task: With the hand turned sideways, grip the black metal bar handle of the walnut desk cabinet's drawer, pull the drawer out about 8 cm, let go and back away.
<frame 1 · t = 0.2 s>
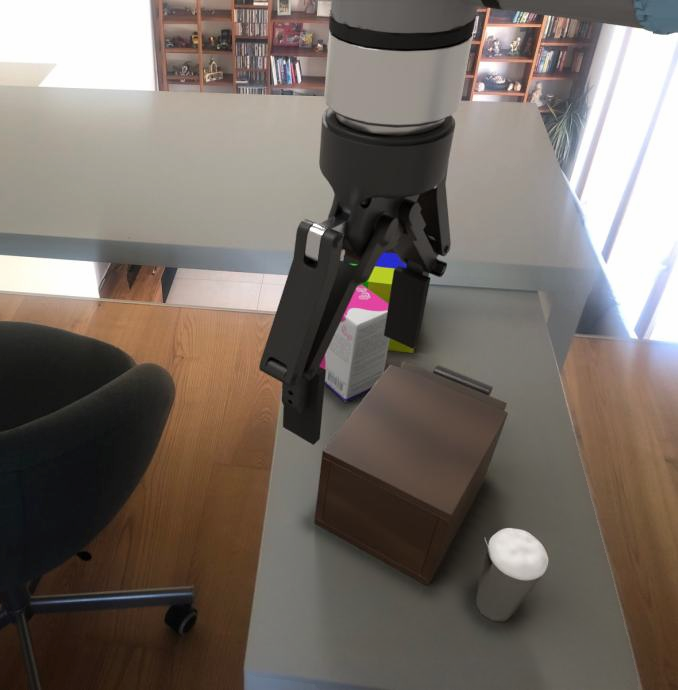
hand: (354, 383, 53), 21 cm above the table, tool pointing down, fingers open, 13 cm apart
drawer: (430, 435, 69), point 5 cm above the table, slide at 1.0 cm
puzzle toy: (374, 324, 91), on the table
supplement box: (348, 381, 83), on the table
cabinet: (399, 503, 69), on the table
milkshake: (488, 605, 61), on the table
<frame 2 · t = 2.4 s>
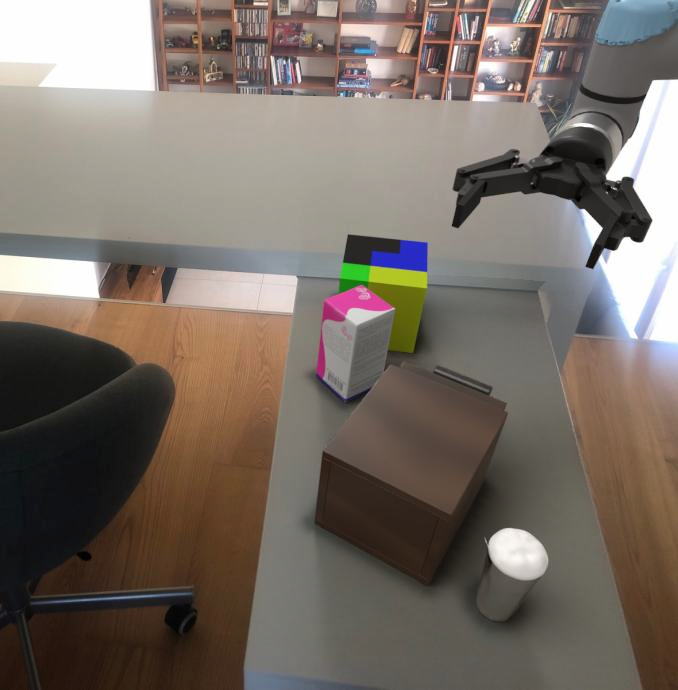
hand: (522, 235, 70), 20 cm above the table, tool horizontal, fingers open, 13 cm apart
nothing on the table moved.
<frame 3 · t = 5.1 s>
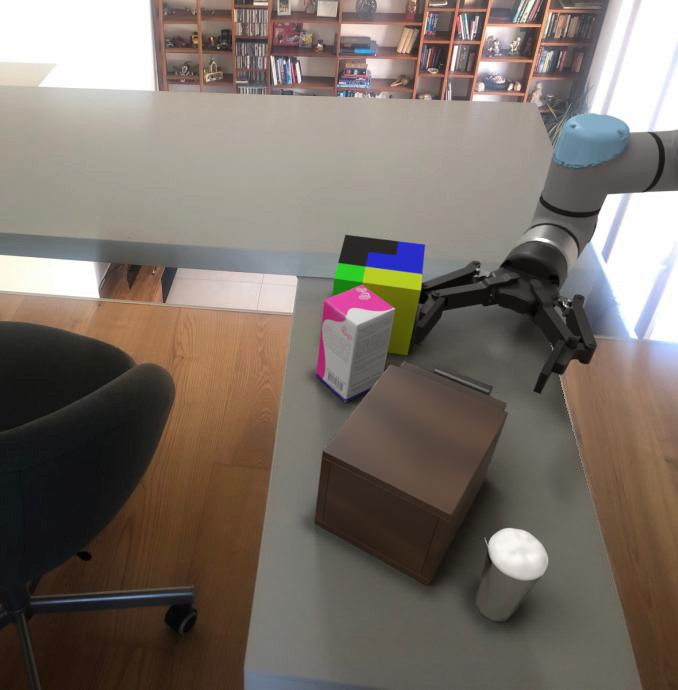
hand: (476, 358, 75), 7 cm above the table, tool horizontal, fingers open, 13 cm apart
puzzle toy: (370, 325, 91), on the table, touching gripper, hand
everything else where it was.
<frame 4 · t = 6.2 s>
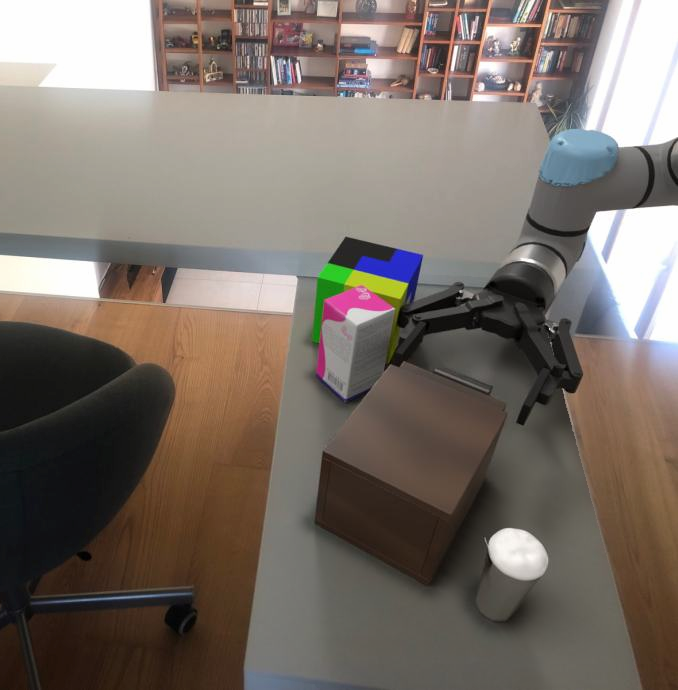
hand: (457, 388, 72), 7 cm above the table, tool horizontal, fingers open, 13 cm apart
puzzle toy: (361, 330, 90), on the table, touching gripper
everything else where it was.
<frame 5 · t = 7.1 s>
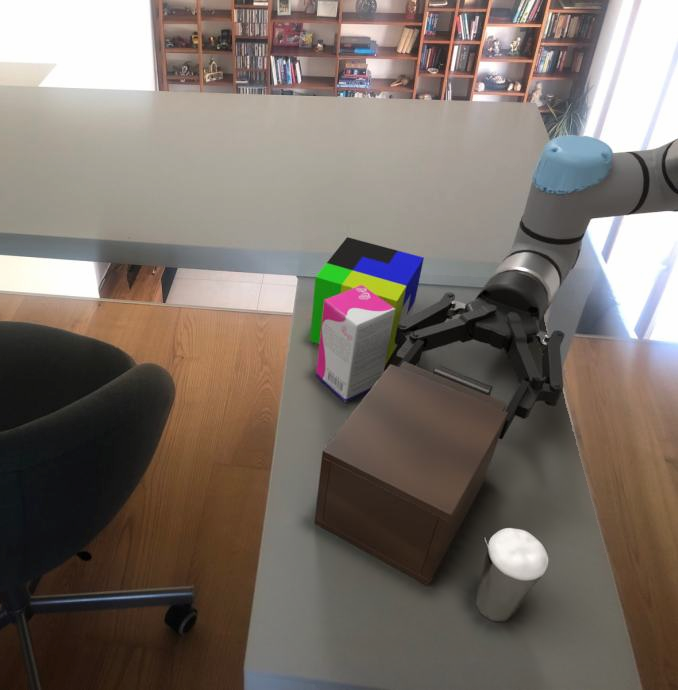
hand: (445, 405, 70), 7 cm above the table, tool horizontal, fingers closed on drawer, 11 cm apart
drawer: (429, 435, 69), point 5 cm above the table, slide at 1.0 cm, touching gripper
puzzle toy: (361, 332, 90), on the table
everything else where it was.
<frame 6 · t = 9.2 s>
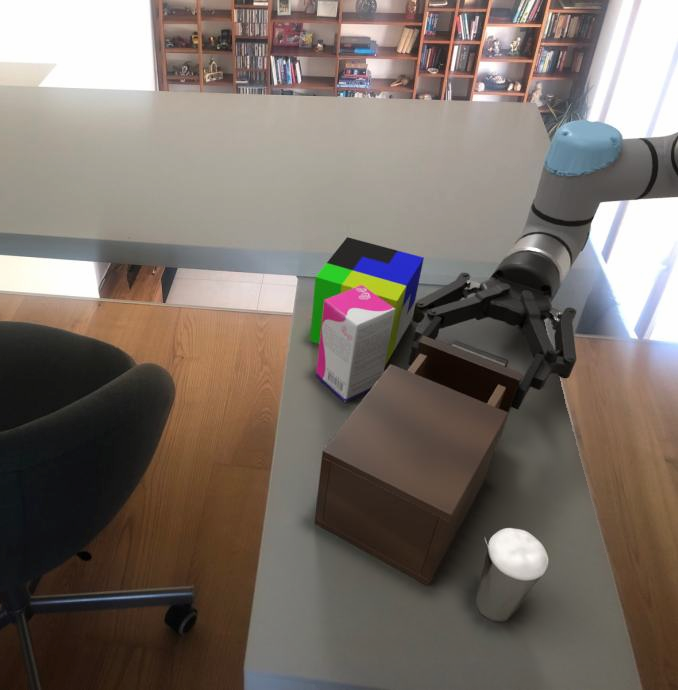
hand: (463, 377, 73), 7 cm above the table, tool horizontal, fingers closed on drawer, 11 cm apart
drawer: (448, 406, 72), point 5 cm above the table, slide at 5.9 cm, touching gripper
everything else where it was.
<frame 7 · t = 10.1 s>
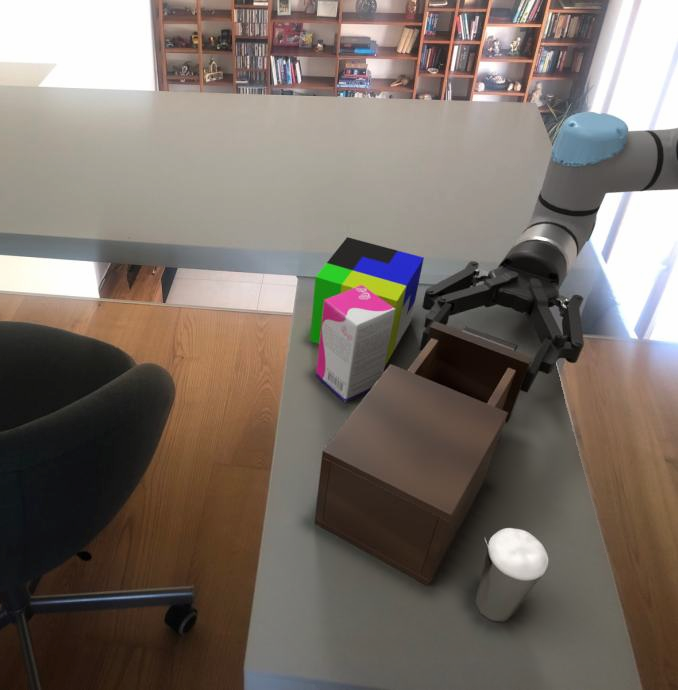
hand: (473, 361, 75), 7 cm above the table, tool horizontal, fingers closed on drawer, 11 cm apart
drawer: (459, 389, 74), point 5 cm above the table, slide at 8.9 cm, touching gripper
everything else where it was.
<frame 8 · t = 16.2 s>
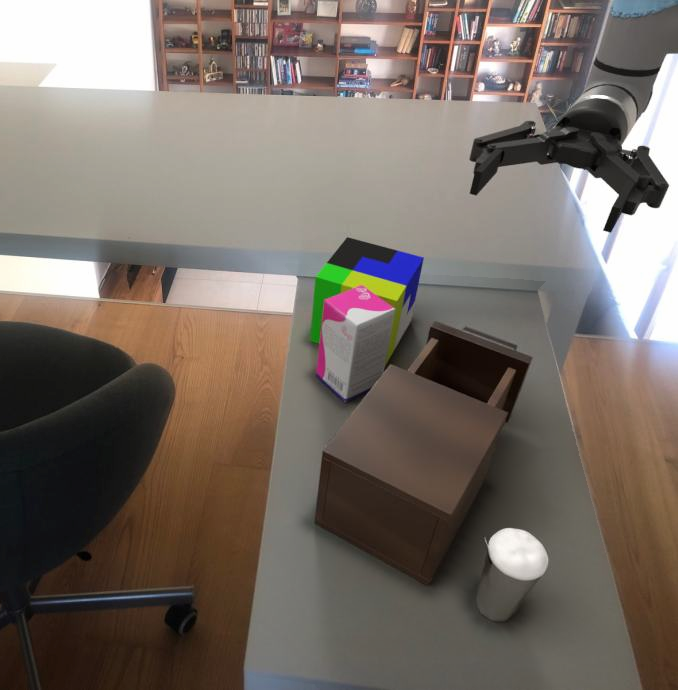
hand: (540, 200, 71), 22 cm above the table, tool horizontal, fingers open, 13 cm apart
drawer: (459, 389, 74), point 5 cm above the table, slide at 9.0 cm
everything else where it was.
at the end: drawer slide at 9.0 cm; the gripper is holding nothing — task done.
